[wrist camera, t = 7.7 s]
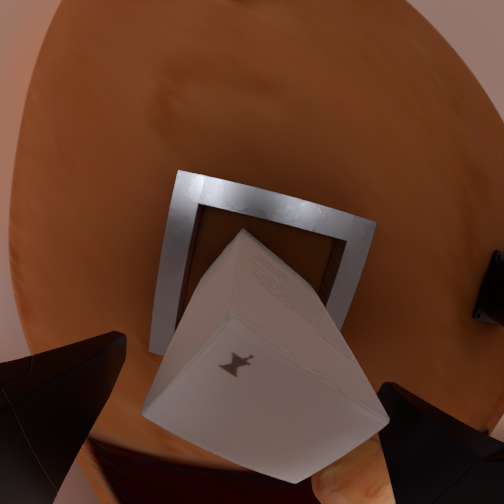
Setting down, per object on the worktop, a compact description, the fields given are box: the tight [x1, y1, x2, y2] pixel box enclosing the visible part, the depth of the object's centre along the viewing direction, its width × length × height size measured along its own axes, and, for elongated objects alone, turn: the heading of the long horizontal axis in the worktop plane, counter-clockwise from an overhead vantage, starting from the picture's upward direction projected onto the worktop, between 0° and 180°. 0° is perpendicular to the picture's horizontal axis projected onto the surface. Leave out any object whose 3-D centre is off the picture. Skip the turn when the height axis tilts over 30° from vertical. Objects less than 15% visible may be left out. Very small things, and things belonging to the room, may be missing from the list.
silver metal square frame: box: [149, 170, 377, 356], centre depth 17 cm, size 11×11×2 cm
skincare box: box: [141, 228, 390, 483], centre depth 12 cm, size 6×4×12 cm
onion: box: [311, 432, 395, 504], centre depth 16 cm, size 10×10×10 cm
